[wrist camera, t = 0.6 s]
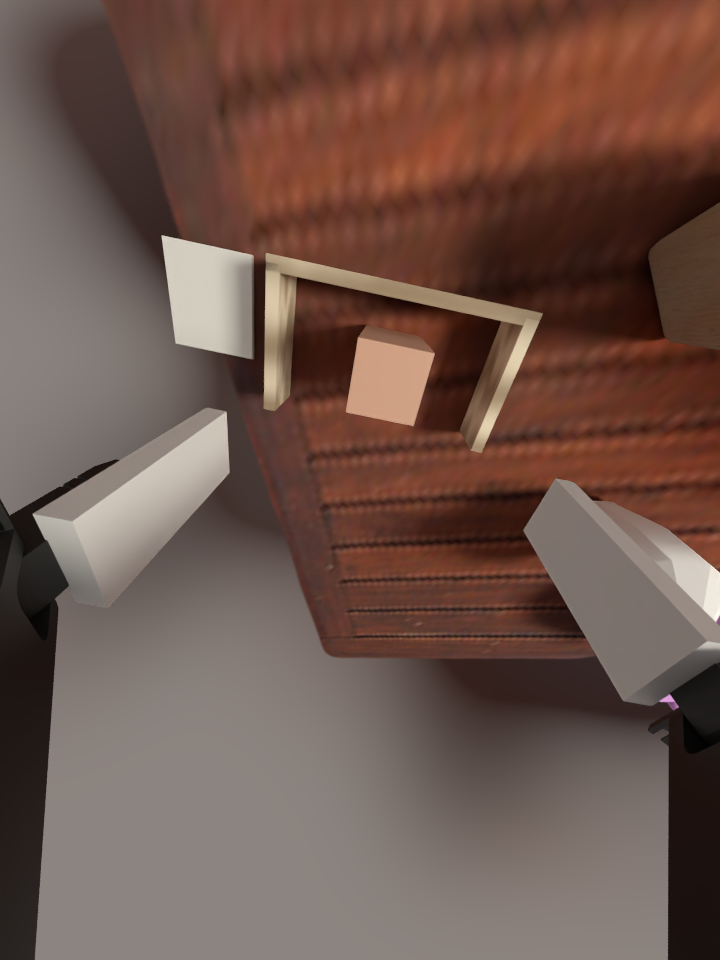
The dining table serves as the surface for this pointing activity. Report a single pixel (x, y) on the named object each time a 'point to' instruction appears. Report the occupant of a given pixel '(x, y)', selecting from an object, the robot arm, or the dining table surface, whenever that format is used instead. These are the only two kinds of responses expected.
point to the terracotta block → (389, 375)
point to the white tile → (211, 296)
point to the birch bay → (508, 339)
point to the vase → (671, 557)
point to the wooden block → (689, 281)
